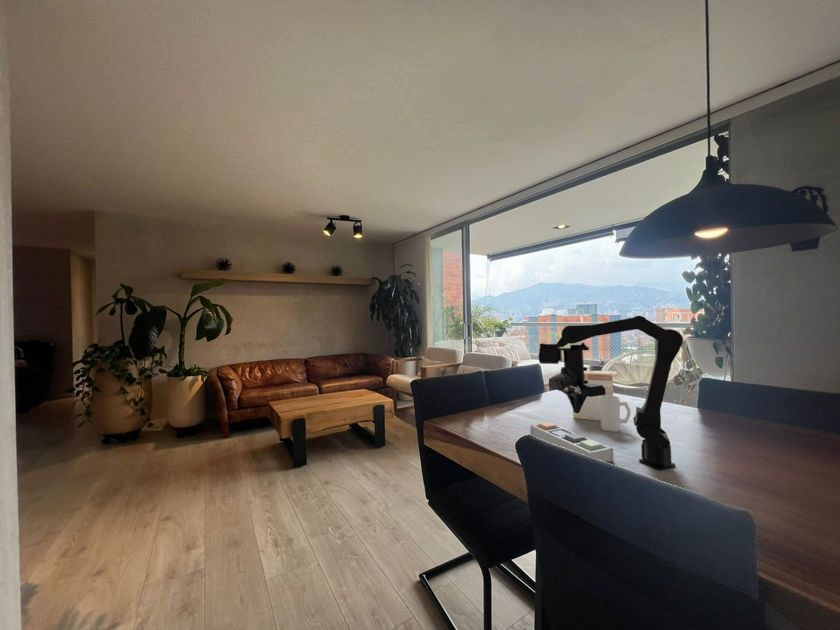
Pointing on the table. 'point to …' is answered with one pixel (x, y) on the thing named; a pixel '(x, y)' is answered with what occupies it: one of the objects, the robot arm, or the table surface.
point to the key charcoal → (574, 438)
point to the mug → (612, 413)
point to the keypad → (600, 454)
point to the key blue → (559, 433)
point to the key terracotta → (547, 426)
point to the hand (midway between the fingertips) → (576, 413)
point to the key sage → (590, 445)
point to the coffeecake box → (592, 404)
